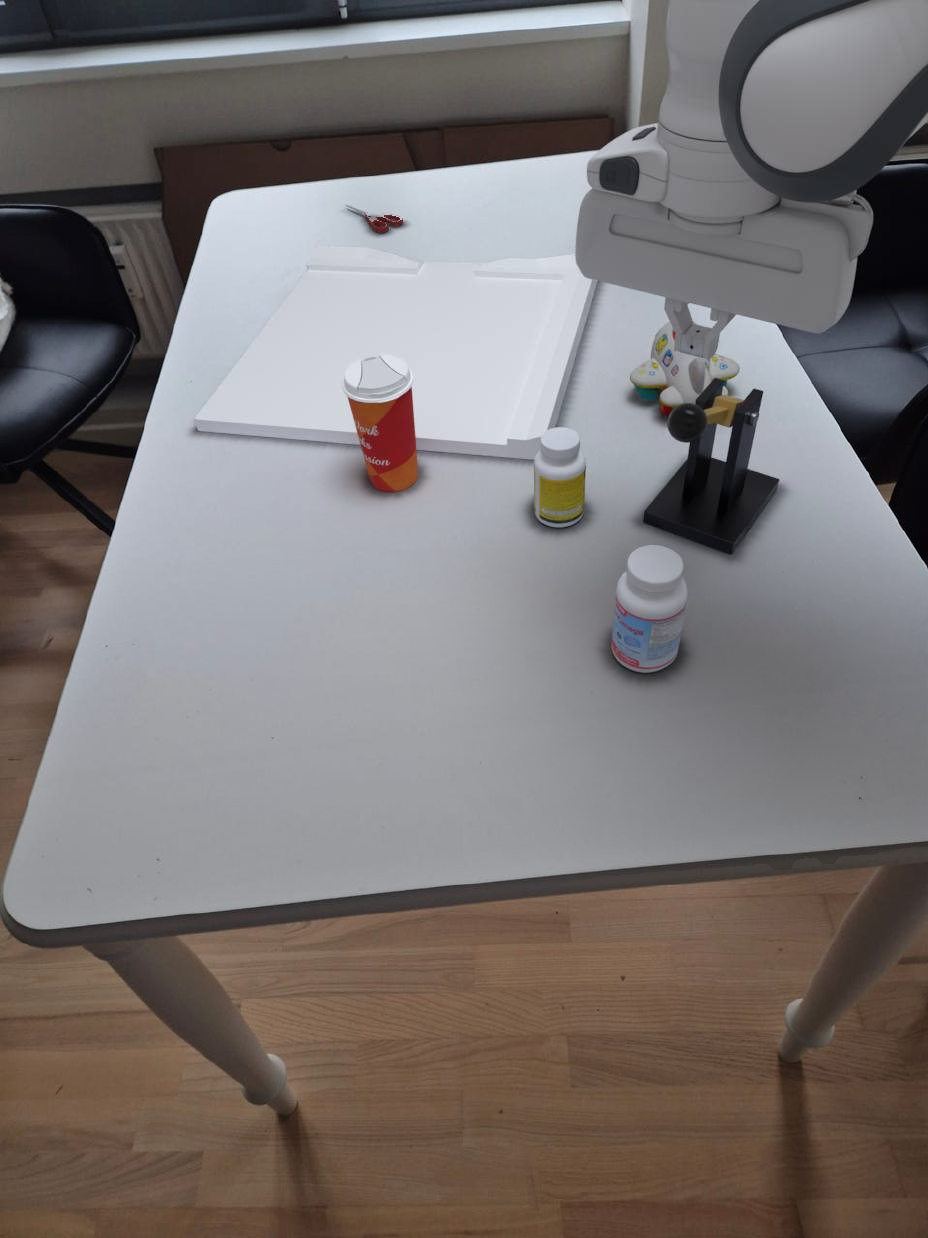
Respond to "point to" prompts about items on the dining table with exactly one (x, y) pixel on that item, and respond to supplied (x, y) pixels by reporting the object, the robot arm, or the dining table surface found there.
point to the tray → (415, 350)
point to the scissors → (380, 229)
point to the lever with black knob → (701, 418)
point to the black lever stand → (716, 483)
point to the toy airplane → (678, 373)
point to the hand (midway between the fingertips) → (695, 351)
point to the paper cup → (384, 419)
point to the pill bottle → (649, 609)
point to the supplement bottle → (559, 478)
